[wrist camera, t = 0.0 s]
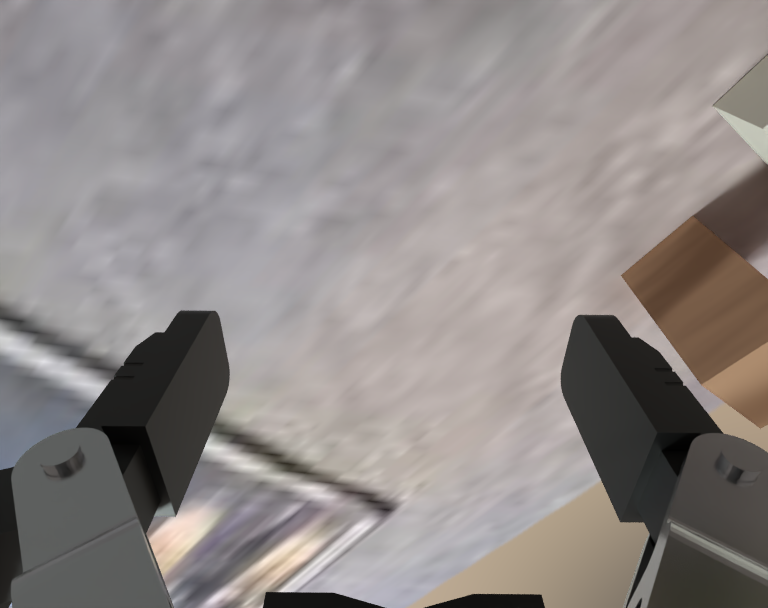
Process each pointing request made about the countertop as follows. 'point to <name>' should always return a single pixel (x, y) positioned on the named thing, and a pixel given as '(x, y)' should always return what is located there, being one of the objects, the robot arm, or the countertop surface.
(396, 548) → the countertop surface
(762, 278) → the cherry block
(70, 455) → the robot arm
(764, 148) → the cream base
